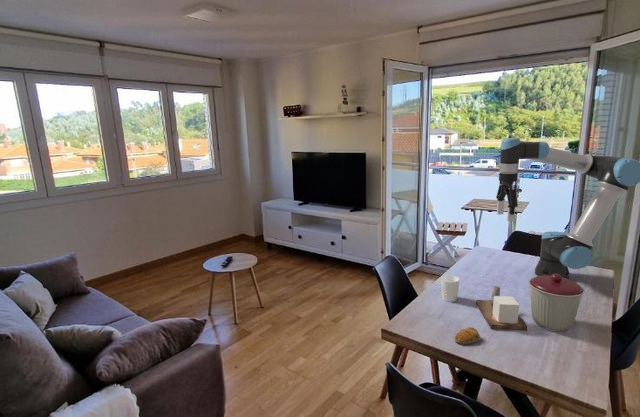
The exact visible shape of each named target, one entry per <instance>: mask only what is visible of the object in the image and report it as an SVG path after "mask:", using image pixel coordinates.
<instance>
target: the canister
mask: <svg viewBox="0 0 640 417" xmlns="http://www.w3.org/2000/svg"><path fill="white" fill-rule="evenodd" d="M528 285H529V288H530V289H529V290H530V293H529V294H530V308H531V310H530V311H531V317H532V320H533V321H534V323H535V324H537V325H538V326H540V327H541V328H544V329H546V330H549V331H552V332H553V331H554V332H564V331H565V332H566V331H569V330H570V329H571V328H573V326H574V323H575V321H576V317H577V314H578V311H579V307H580V302H581V299H582V296H583V295H584V294H585V293H586V291H585V290H586V289H585V288H584V287H583V286H582V285H581V284H579V283H577V282H575V281H573V280H572V279H570V278H569V279H566V278H563V277H562V276H561V275H559V274H552V275H542V276H537V275H536V276H533V277H531V278H529V280H528Z"/></svg>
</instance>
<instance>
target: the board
mask: <svg viewBox="0 0 640 417" xmlns="http://www.w3.org/2000/svg"><path fill="white" fill-rule="evenodd" d="M500 294H501V287H500V286H495V285H494V286H492V288H491V299H476V301H475V305H476V306H477V309H479V312H480V313H481V315H482V317H483V318H484V320H485V322H486V323H487V324H488V326H489V329H490V330H492V331H493V330H494V331H495V330H496V331H517V332H518V331H520V332H521V331H523V332H526V331H527V332H528V325H527V324H526V322H525V321H524V320H523V319H522V318H521V316H520V315H519V314H518V323H501V322H498V321H497V320H496V318H495V316H494V315H493V300H494V296H501V295H500Z"/></svg>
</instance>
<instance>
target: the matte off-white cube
mask: <svg viewBox="0 0 640 417" xmlns="http://www.w3.org/2000/svg"><path fill="white" fill-rule="evenodd" d="M519 310H520V303H518V302H517V301H516V299H515V298H514V297H513V296H507V295H504V296H502V295H500V296H494V300H493V315H494V316H495V318H496V320H497V321H498V322H501V323H518V315H519Z"/></svg>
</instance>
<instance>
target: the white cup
mask: <svg viewBox="0 0 640 417" xmlns="http://www.w3.org/2000/svg"><path fill="white" fill-rule="evenodd" d="M440 288H441V289H440V291H441V299H442V300H443V301H444V302H448V301H449V302H450V303H451V302H452V303H454V302H457V300H458V295H459V294H458V293H459V288H460V278H459V277H458V276H456V275H451V274H446V275H445V274H444V275H442V276H441V277H440Z"/></svg>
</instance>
